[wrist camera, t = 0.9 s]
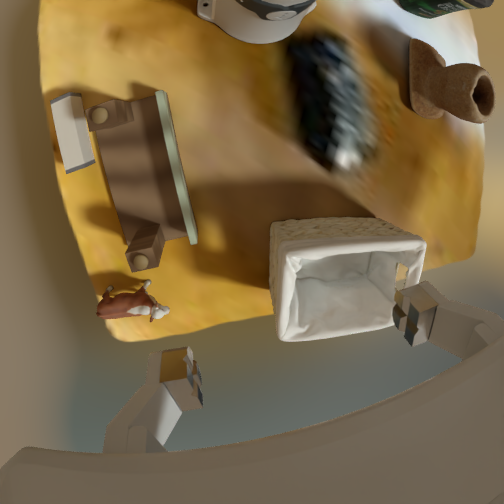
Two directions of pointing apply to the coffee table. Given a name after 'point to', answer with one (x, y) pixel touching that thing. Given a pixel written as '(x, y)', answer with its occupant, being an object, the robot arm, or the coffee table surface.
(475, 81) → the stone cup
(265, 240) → the coffee table surface
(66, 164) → the rail bar
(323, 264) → the storage basket
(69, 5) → the coffee table surface
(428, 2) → the coffee jar
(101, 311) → the bull figurine
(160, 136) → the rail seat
